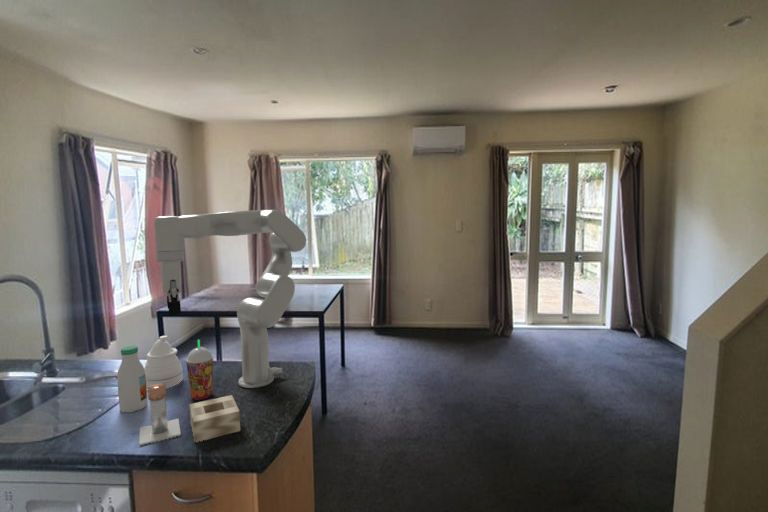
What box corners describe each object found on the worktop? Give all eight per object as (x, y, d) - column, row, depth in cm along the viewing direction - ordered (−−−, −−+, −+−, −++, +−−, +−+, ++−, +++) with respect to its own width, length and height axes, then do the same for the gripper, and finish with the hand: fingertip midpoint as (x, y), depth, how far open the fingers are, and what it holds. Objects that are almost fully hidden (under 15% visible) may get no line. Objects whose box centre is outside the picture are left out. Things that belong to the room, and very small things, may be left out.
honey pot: (190, 380, 153) (187, 333, 151) (156, 393, 142) (152, 343, 140) (170, 373, 159) (167, 329, 157) (136, 385, 148) (132, 338, 146)
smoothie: (182, 399, 136) (179, 342, 134) (201, 389, 144) (198, 335, 142) (202, 403, 133) (198, 344, 131) (220, 393, 141) (217, 337, 139)
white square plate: (178, 420, 123) (178, 418, 123) (180, 435, 114) (180, 433, 114) (140, 429, 118) (140, 427, 118) (139, 446, 109) (139, 444, 109)
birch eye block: (232, 413, 127) (231, 394, 126) (240, 430, 116) (239, 410, 116) (190, 423, 121) (189, 404, 120) (194, 442, 110) (193, 422, 110)
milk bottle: (134, 414, 127) (129, 352, 125) (113, 412, 128) (108, 351, 126) (153, 403, 134) (148, 344, 132) (133, 401, 136) (128, 343, 134)
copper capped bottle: (151, 429, 117) (147, 385, 115) (168, 424, 119) (164, 382, 117) (151, 436, 113) (147, 391, 111) (169, 431, 115) (165, 387, 114)
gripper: (156, 254, 130) (159, 307, 131) (157, 259, 115) (161, 318, 116) (182, 253, 133) (185, 304, 135) (186, 258, 118) (189, 315, 120)
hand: (174, 311), depth 126 cm, fingers open, 9 cm apart
